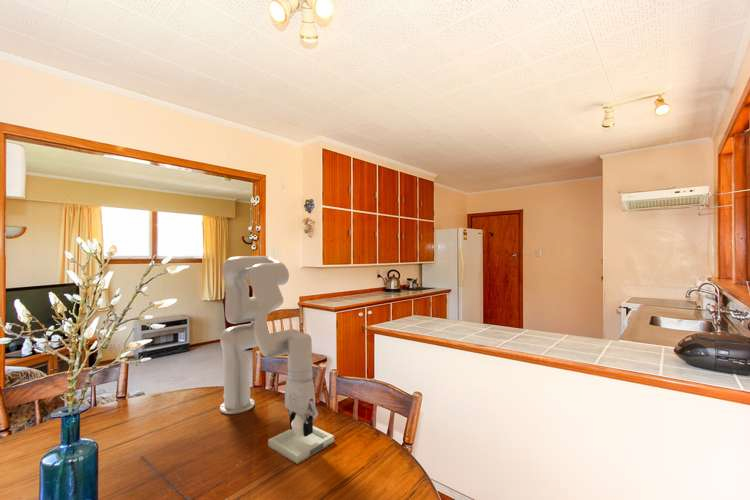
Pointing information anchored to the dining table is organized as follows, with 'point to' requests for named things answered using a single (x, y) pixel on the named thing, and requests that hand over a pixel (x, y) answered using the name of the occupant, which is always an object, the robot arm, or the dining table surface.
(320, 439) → the tray
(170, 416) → the dining table surface
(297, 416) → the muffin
